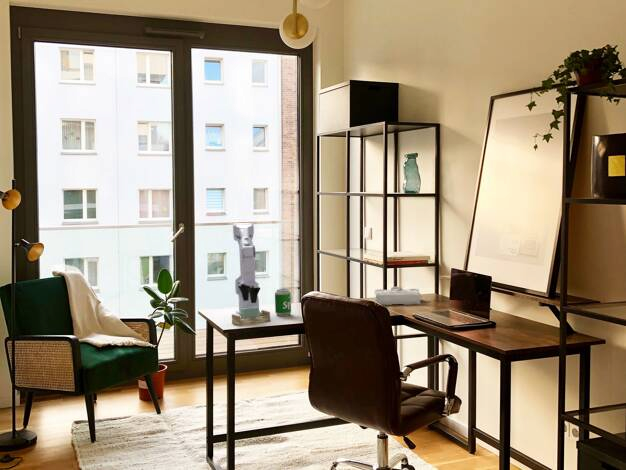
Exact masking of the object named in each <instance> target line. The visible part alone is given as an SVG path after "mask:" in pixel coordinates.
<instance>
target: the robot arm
mask: <svg viewBox="0 0 626 470" xmlns="http://www.w3.org/2000/svg"><path fill="white" fill-rule="evenodd" d="M254 233H255V227H254V223H253V222H242V223H241V222H240V223H239V222H237V223H236V222H234V223H233V224H232V234H233V240H234V241H236V242H237V243H238V248H239V251H238V252H239V268H240V269H239V271H240V274H239V275H238V276H237V277H236V278H235V282H234V287H235V291H234V292H235V294H236V295H237V296H238V311H235V313H237V314H240V315H241V309H242V308H249V307H259V308H260V301H259V300H260V299H259V296H258V295H259V293H260V290H261V287H259V286H260V285H259V282H257V281H256V265H255V262H256V261H255V258H256V247H255V245H254V242H253V238H254V235H255V234H254ZM259 313H261V310H259Z"/></svg>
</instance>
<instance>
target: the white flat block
mask: <svg viewBox="0 0 626 470" xmlns="http://www.w3.org/2000/svg"><path fill="white" fill-rule="evenodd" d="M374 294H375V296H374V302H375V303H376V302H377V303H379V304H382V305H381V306H393V305H392V304H404V305H403V306H414V305H415V306H417V305H418V306H420V305H421V300H422V301H424V302H430V300H429V299H428V300H427V299H423V296H422V295H421V292H420V290H419V288H410V289H407V288H406V289H403V288H402V286H392V287H390V289H382V288H381V289H374Z"/></svg>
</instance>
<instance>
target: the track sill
mask: <svg viewBox="0 0 626 470" xmlns="http://www.w3.org/2000/svg"><path fill="white" fill-rule="evenodd" d="M266 322H271V312H270V311H268V310H265V309H262V310H260V313H259V317H253V318H246V319H241V315H238V314H235V313H233V314H231V324H232V325H235V326H238V327H239V326H244V325H245V326H246V325H251V323H252V324H258V323H266Z"/></svg>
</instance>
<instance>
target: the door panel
mask: <svg viewBox="0 0 626 470" xmlns="http://www.w3.org/2000/svg"><path fill="white" fill-rule="evenodd" d="M259 311H260V306H259V307H249V308H242V309H241V314H240V317H241V319H246V318H253V317H259V314H260V312H259Z"/></svg>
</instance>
